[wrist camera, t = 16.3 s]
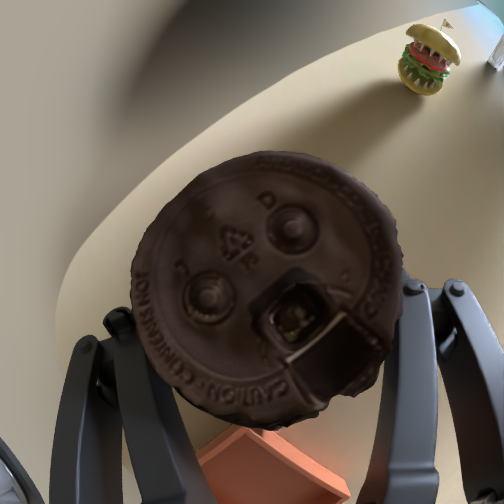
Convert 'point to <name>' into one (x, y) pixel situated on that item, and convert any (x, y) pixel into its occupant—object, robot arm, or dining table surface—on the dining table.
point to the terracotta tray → (265, 470)
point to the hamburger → (427, 59)
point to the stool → (497, 54)
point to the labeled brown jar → (269, 289)
